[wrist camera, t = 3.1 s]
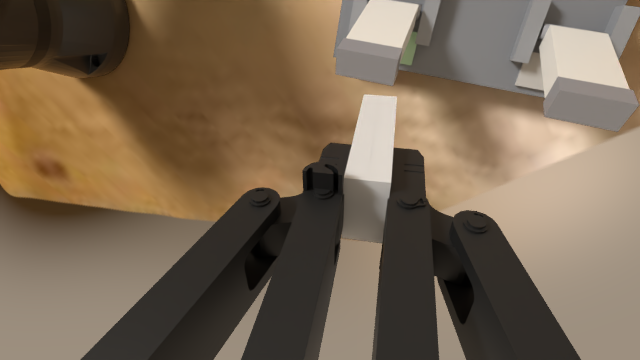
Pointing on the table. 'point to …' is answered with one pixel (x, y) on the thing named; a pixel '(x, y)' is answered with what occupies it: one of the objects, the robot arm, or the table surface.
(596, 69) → the lever
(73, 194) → the table surface
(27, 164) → the table surface
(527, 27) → the console
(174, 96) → the table surface
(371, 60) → the lever
